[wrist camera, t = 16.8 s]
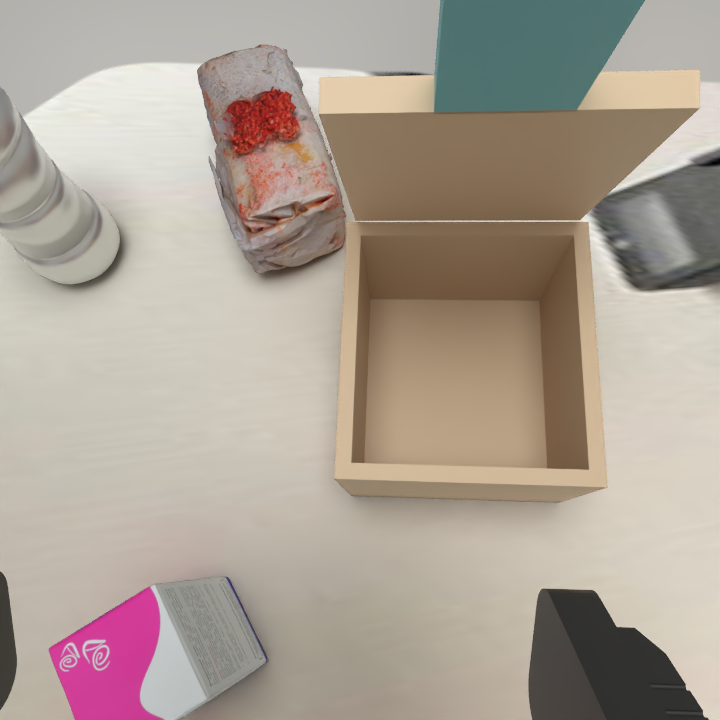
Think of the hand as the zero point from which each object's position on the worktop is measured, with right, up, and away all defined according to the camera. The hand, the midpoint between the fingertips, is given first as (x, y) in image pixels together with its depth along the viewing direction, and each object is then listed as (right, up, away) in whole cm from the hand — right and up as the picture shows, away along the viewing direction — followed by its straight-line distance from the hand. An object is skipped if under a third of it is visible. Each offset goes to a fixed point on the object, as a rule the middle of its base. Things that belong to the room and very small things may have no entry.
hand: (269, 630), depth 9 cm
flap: (+6, +12, +14) cm, 20 cm away
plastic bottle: (-19, +12, +38) cm, 44 cm away
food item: (-4, +16, +38) cm, 41 cm away
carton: (+8, +2, +32) cm, 33 cm away
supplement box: (-8, -13, +29) cm, 33 cm away
